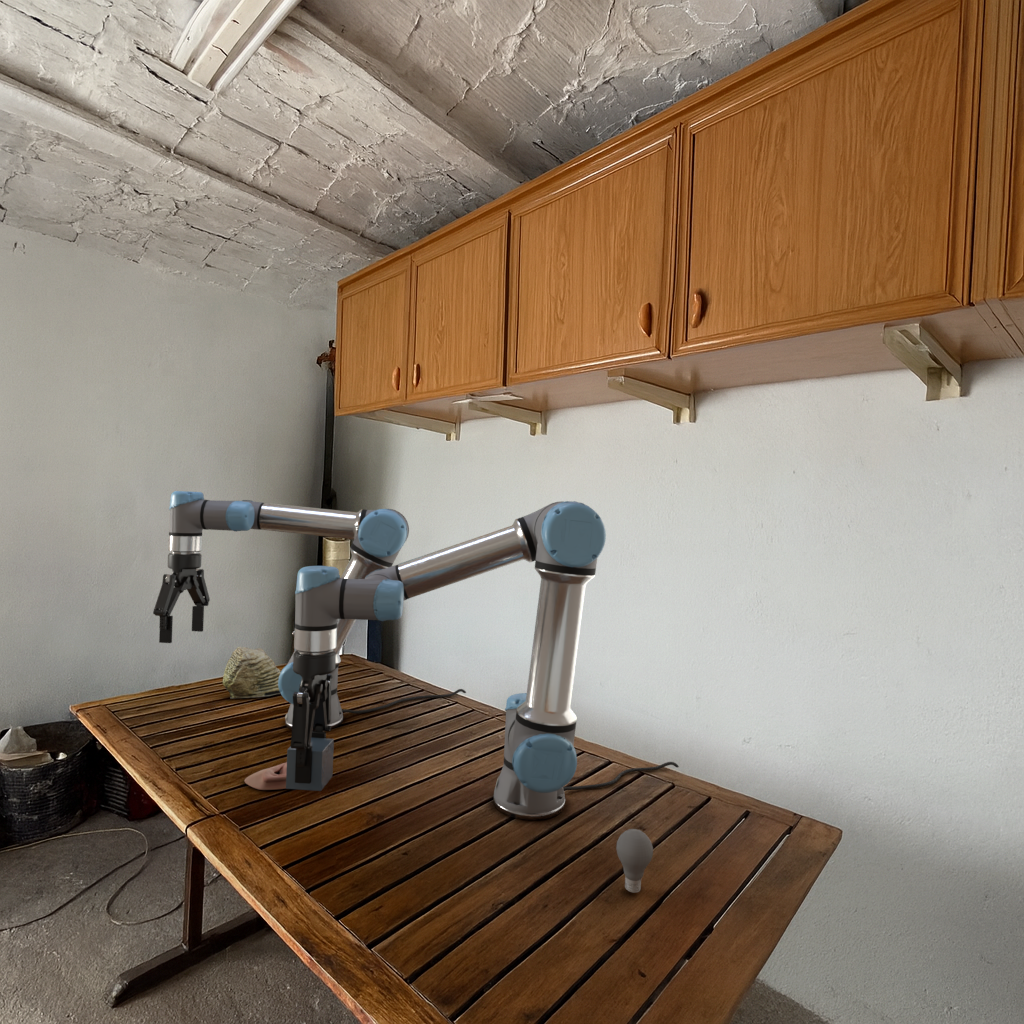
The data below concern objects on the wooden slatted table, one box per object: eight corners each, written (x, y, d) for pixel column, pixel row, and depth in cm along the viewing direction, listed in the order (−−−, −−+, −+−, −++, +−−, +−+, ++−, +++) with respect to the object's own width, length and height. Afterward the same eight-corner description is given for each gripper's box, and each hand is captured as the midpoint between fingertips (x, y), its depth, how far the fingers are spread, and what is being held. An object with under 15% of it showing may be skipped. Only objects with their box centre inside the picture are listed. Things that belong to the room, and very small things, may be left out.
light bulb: (610, 879, 108) (613, 822, 108) (644, 879, 109) (647, 822, 109) (619, 902, 102) (622, 840, 102) (655, 901, 103) (658, 840, 103)
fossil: (218, 695, 195) (220, 647, 195) (278, 685, 208) (279, 640, 207) (228, 703, 189) (230, 653, 188) (289, 692, 201) (290, 645, 201)
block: (299, 774, 121) (300, 736, 121) (332, 776, 120) (334, 738, 120) (285, 788, 115) (287, 749, 114) (320, 791, 114) (322, 751, 114)
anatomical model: (236, 768, 136) (267, 748, 147) (235, 786, 136) (266, 765, 148) (292, 776, 134) (319, 755, 145) (291, 794, 134) (319, 772, 145)
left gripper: (198, 548, 172) (195, 626, 172) (138, 555, 147) (135, 647, 147) (225, 549, 171) (222, 627, 172) (169, 557, 146) (165, 648, 147)
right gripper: (314, 637, 127) (309, 752, 127) (272, 662, 108) (267, 796, 108) (351, 640, 126) (346, 754, 127) (315, 664, 107) (310, 799, 108)
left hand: (182, 636), depth 159 cm, fingers open, 13 cm apart
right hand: (310, 773), depth 117 cm, fingers closed on block, 6 cm apart
